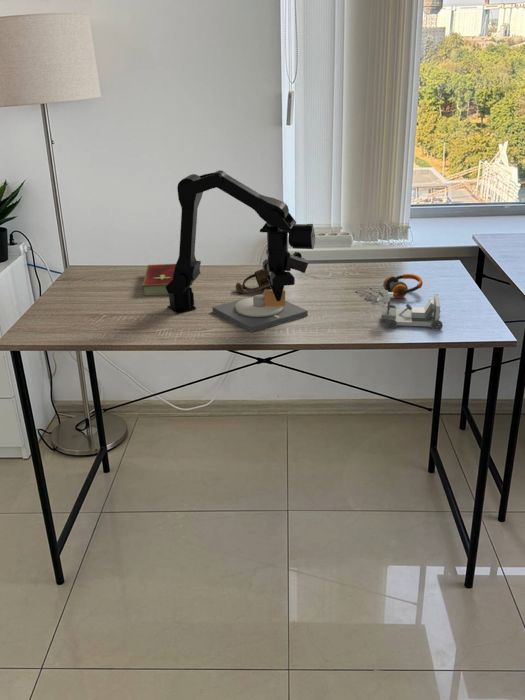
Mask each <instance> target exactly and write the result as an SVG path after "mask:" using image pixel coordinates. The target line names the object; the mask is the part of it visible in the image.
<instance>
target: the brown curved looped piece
mask: <svg viewBox="0 0 525 700" xmlns="http://www.w3.org/2000/svg"><path fill="white" fill-rule="evenodd" d="M266 275H269V271H268V269H267V268H266V271H264V270H263V268H261V269H259V270H256V271H254V274H251V275H249V276H247V277H246V278H244V280H243V281H242V284H241V282H237V283H236V284H235V290H236V291H237V292H238V293H239V294H244V292H245V291H247V292H257V291H260V290H261V291H264V289H269V288H271V286H270V284H269V281H268V279H267V277H266ZM253 278H255V280H256V282H257V285H258V286H257V287H253V288H251V287H247V286H246V282H247V281H249V280H250V279H253Z"/></svg>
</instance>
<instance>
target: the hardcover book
mask: <svg viewBox="0 0 525 700" xmlns="http://www.w3.org/2000/svg"><path fill="white" fill-rule="evenodd" d="M175 266H176V263H164V264H163V263H160V264H147V268H146V271H145V273H144V277H143V282H142V287H143V289H144V293H143V294H144V296H160V295H162V296H163V295H169V293H168V292H167V290H166V286H167V285H168V284H169V283H170V282H171V281H172V280H173V273H174V269H175Z"/></svg>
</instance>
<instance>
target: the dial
mask: <svg viewBox="0 0 525 700" xmlns="http://www.w3.org/2000/svg"><path fill="white" fill-rule="evenodd" d="M263 293H264V295H259V294H255V295H252V296H253V297H252V296H250V297H251V298H248V297H245V298H246V299H244V298H242V299H243V300H241V299H239V300H240V301H239V302H237V303H236V311H237V312H238V313H239V314H241V315H244V316H249V317H267V316H272V315H276V314H278V313H280V312H281V311H282V310H283V308H284V307H283V306H285V300H286V288H283V292H282V296H281V301H277V300H276V298H275V296H274V293H273V291H272V289H269V288H267V289H264V290H263Z"/></svg>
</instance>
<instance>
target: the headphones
mask: <svg viewBox="0 0 525 700" xmlns="http://www.w3.org/2000/svg"><path fill="white" fill-rule="evenodd" d="M401 279H404V280H406V279H407V280H408V279H409V280H415V281H417V282H418V283H417V285H415V286H414V287H410V288H408V286H407V284H406V283H405V282H404V281H399V280H401ZM423 283H424V282H423V279H422V278H421V276H419V275H417V274H414V273H413V274H412V273H403V274H402V275H401V274H400V275H397V276H395V275H394V276H393V275H392V276H388V277H386V278H385V279H384V280H383V284H382V285H381V286H380V287H379V289H378V290H377V291H376V290H375V289H373V288H371V287H369V286H366V288H367V289H369V290H371V291H372V292H371V293H370V292H366V291H362V290H361V291H360V293H361V294H359V295H358V297H363V296H365V298H363V300H364V301H366V302H368V301H371V304H373V305H374V304H378V303H380V302H379V301H377V299H378V297H379V296H380V295H379V296H375V297H373V296H374V295H373V294H374V293H376V294H379V293H378V292H380V293H381V294H382V293H383V292H381V290H382V287H383V289H384V290H385V291H386V290H388V292H393V298H396V299H403V298H405V296H406V295H407V294H408V293H412V292H415V291H417V290H419V289H421V288H422V287H423ZM361 288H363V286H361V287H358V288H356V290H355V292H356V293H358V290H359V289H361ZM384 304H385V305H387V303H384Z"/></svg>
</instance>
